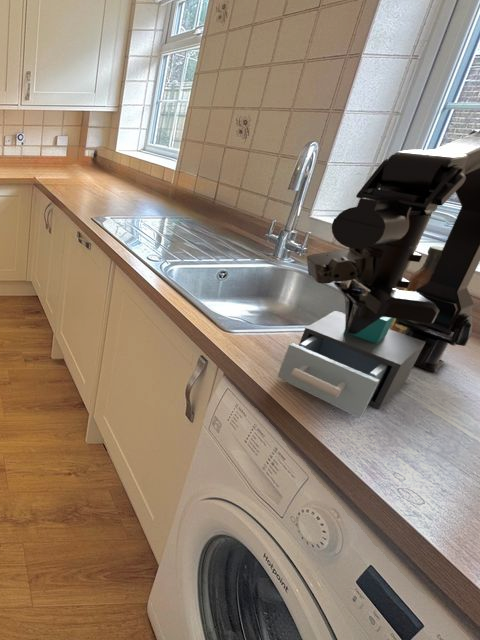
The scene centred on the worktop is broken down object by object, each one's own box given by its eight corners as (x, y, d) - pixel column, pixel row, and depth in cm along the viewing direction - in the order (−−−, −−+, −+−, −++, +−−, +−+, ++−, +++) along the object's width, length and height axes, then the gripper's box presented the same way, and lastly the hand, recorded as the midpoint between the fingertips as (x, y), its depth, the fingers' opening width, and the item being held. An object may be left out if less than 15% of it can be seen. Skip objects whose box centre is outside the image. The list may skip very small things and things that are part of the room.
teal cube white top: (353, 325, 74) (362, 304, 73) (385, 337, 71) (395, 315, 69) (343, 331, 72) (353, 309, 71) (376, 344, 69) (387, 321, 67)
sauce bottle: (435, 344, 86) (481, 256, 79) (400, 340, 87) (443, 253, 80) (410, 328, 92) (451, 245, 85) (378, 325, 93) (416, 242, 86)
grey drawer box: (378, 409, 66) (400, 364, 63) (290, 367, 76) (305, 327, 73) (404, 382, 73) (425, 341, 70) (320, 347, 83) (335, 310, 80)
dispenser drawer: (349, 428, 61) (367, 391, 58) (265, 384, 70) (277, 351, 67) (386, 392, 69) (403, 358, 67) (307, 357, 78) (319, 326, 76)
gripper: (299, 218, 70) (272, 299, 76) (357, 254, 54) (317, 354, 59) (378, 226, 67) (344, 309, 73) (466, 266, 51) (412, 370, 56)
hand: (350, 332), depth 66 cm, fingers closed
